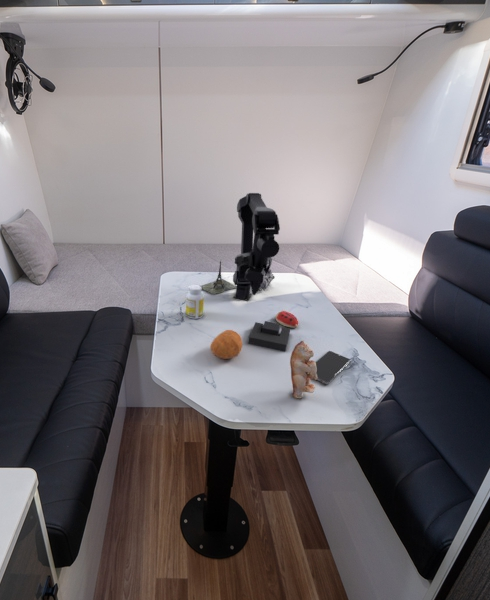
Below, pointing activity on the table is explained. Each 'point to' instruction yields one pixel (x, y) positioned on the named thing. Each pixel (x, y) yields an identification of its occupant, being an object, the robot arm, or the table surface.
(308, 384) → the figurine
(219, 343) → the potato
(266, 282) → the mineral specimen
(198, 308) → the pill bottle
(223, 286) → the eiffel tower figurine
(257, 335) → the notched pad
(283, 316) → the ladybug figurine
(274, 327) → the black block
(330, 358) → the smartphone
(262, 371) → the table surface
